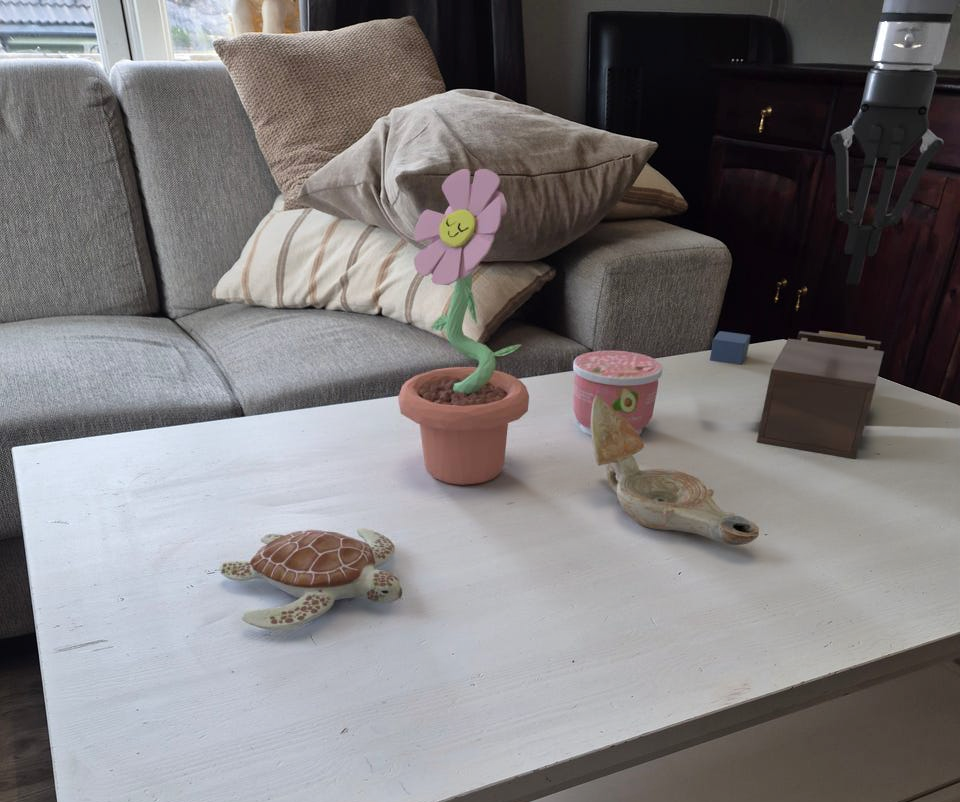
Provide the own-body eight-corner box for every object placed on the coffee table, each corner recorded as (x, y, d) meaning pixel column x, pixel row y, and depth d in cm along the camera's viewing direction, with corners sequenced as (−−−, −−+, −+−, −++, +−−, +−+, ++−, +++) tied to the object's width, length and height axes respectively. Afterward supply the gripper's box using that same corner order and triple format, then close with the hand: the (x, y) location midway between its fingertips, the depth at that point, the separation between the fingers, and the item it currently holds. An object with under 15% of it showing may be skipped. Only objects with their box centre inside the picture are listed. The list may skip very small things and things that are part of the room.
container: (554, 432, 112) (558, 367, 107) (589, 407, 119) (595, 345, 115) (635, 451, 107) (643, 384, 103) (666, 423, 115) (675, 359, 110)
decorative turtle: (341, 667, 71) (337, 612, 68) (175, 611, 77) (165, 559, 74) (452, 565, 84) (453, 516, 82) (303, 524, 90) (299, 477, 88)
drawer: (794, 371, 130) (806, 319, 126) (870, 382, 127) (884, 329, 123) (774, 413, 116) (786, 356, 112) (858, 426, 113) (873, 368, 109)
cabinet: (774, 406, 121) (788, 338, 116) (865, 421, 117) (883, 351, 112) (756, 442, 110) (771, 368, 105) (855, 459, 107) (875, 383, 102)
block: (714, 361, 136) (719, 330, 134) (744, 366, 135) (750, 335, 132) (707, 370, 133) (713, 338, 130) (739, 375, 131) (745, 343, 129)
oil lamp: (614, 475, 102) (624, 386, 96) (777, 549, 88) (800, 451, 83) (558, 496, 97) (565, 404, 91) (721, 577, 84) (741, 475, 78)
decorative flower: (370, 462, 103) (355, 164, 86) (467, 435, 110) (471, 154, 93) (451, 511, 94) (451, 185, 77) (551, 477, 101) (572, 173, 84)
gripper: (841, 66, 105) (797, 282, 118) (965, 71, 101) (905, 294, 114) (847, 64, 111) (804, 270, 124) (965, 68, 106) (907, 281, 120)
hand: (852, 281), depth 119 cm, fingers closed
